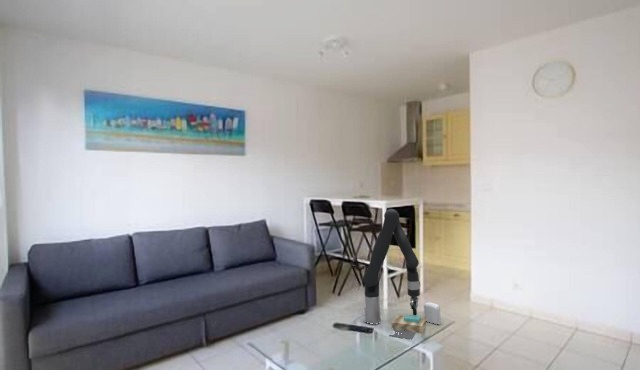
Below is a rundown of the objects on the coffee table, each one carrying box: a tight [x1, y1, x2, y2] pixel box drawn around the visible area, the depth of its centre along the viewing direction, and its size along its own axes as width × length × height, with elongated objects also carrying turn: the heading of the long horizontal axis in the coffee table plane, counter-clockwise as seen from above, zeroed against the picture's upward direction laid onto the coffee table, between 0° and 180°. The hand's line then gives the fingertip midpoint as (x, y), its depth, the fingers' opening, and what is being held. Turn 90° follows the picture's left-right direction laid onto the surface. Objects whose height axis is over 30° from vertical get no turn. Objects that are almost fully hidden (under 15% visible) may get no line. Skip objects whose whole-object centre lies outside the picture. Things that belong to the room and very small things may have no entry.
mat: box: [388, 329, 417, 341], centre depth 207 cm, size 13×10×1 cm
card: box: [404, 314, 422, 323], centre depth 217 cm, size 9×6×2 cm, turn 62°
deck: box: [391, 314, 427, 334], centre depth 217 cm, size 18×12×4 cm, turn 62°
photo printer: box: [423, 301, 442, 325], centre depth 222 cm, size 10×4×12 cm, turn 39°
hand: (414, 314), depth 224 cm, fingers closed
